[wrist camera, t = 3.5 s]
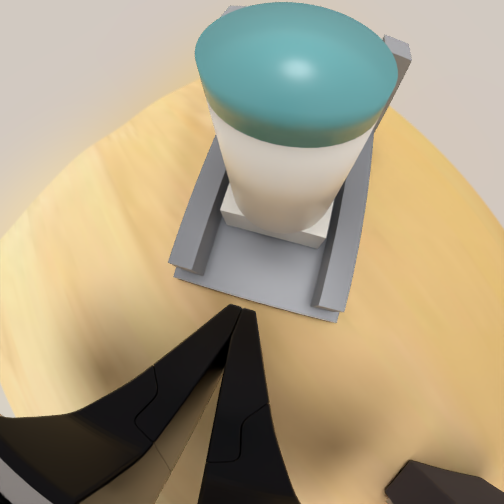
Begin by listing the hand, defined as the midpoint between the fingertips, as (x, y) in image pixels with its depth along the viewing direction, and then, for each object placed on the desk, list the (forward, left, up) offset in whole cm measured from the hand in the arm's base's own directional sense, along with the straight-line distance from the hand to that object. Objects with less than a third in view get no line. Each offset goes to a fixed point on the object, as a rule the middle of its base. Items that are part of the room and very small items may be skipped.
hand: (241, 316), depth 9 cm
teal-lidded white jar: (+6, 0, -5) cm, 8 cm away
